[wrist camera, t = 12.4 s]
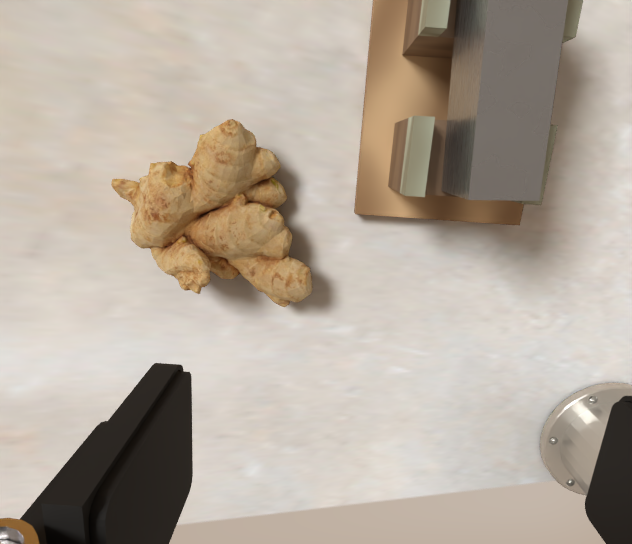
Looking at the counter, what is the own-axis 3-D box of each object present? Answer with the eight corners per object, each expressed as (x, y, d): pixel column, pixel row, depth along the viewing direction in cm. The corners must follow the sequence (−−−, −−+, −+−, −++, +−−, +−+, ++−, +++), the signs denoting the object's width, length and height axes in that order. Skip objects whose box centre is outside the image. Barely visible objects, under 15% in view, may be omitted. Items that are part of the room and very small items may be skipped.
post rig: (561, -39, 33) (651, -111, 24) (512, 222, 39) (570, 244, 29) (377, -51, 33) (397, -128, 24) (354, 211, 39) (363, 230, 29)
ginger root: (106, 121, 36) (78, 118, 28) (297, 121, 39) (317, 118, 32) (132, 299, 40) (114, 337, 33) (300, 286, 44) (318, 317, 36)
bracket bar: (526, -41, 27) (581, -93, 21) (498, 191, 30) (539, 200, 25) (460, -41, 27) (497, -93, 21) (441, 190, 31) (468, 199, 25)
